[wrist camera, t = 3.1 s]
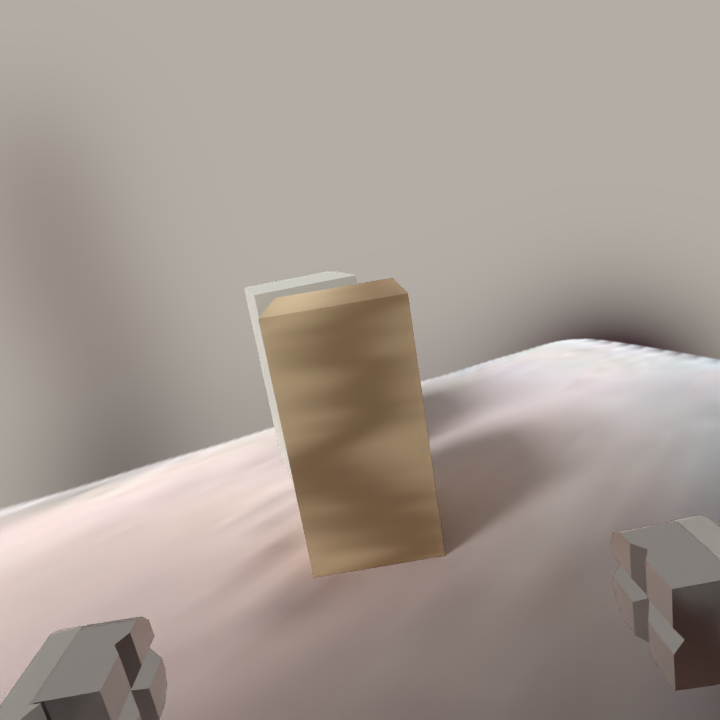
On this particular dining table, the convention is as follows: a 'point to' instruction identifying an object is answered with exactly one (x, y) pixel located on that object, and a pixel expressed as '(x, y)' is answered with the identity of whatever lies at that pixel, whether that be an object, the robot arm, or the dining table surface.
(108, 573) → the dining table surface
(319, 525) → the oak block
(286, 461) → the grey block
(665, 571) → the robot arm
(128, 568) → the dining table surface
